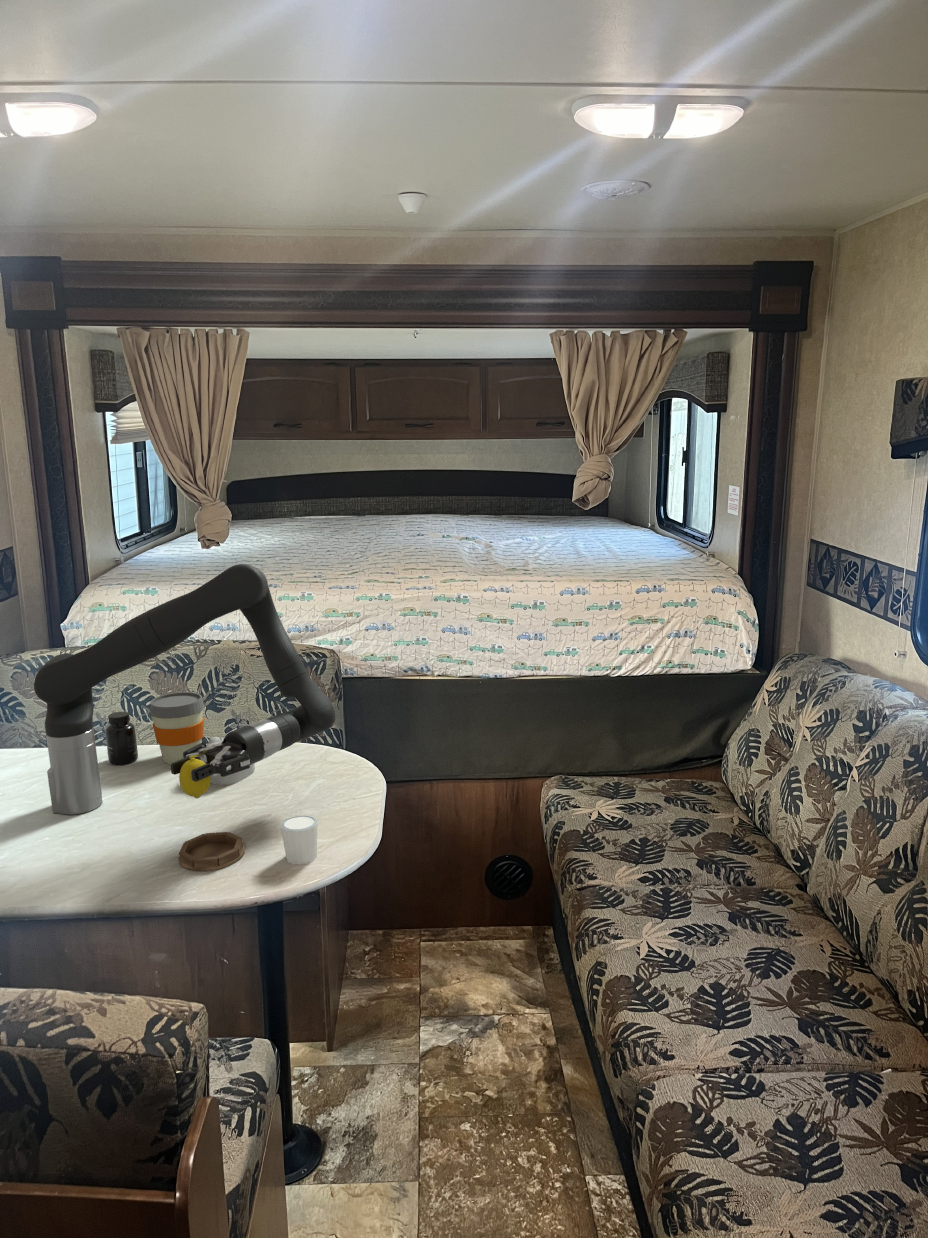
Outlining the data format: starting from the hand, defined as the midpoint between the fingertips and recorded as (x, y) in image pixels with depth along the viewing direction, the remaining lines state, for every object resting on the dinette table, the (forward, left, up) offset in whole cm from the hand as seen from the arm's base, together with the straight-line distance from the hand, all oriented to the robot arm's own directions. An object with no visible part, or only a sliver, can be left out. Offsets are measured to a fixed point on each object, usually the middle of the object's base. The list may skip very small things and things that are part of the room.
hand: (182, 773), depth 158 cm
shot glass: (+21, -2, -18) cm, 27 cm away
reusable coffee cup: (-13, +54, -18) cm, 59 cm away
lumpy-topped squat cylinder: (0, +42, -18) cm, 46 cm away
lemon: (+2, +2, -6) cm, 7 cm away
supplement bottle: (-27, +54, -18) cm, 63 cm away
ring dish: (+4, +1, -17) cm, 18 cm away
